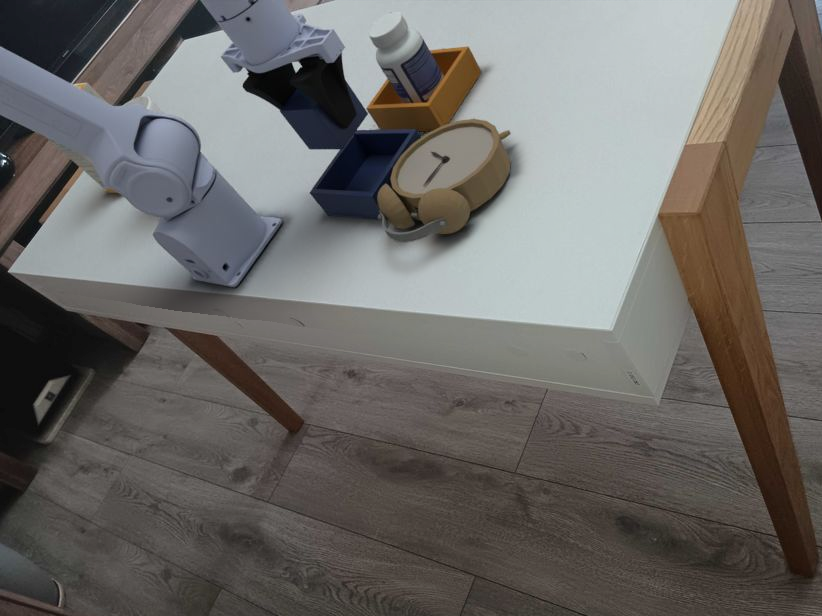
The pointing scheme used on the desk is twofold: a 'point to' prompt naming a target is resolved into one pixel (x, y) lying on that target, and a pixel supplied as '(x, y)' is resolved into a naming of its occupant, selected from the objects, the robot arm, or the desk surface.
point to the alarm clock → (444, 179)
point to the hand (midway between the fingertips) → (330, 122)
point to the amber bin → (441, 104)
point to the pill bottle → (405, 59)
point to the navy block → (320, 121)
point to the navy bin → (361, 172)
